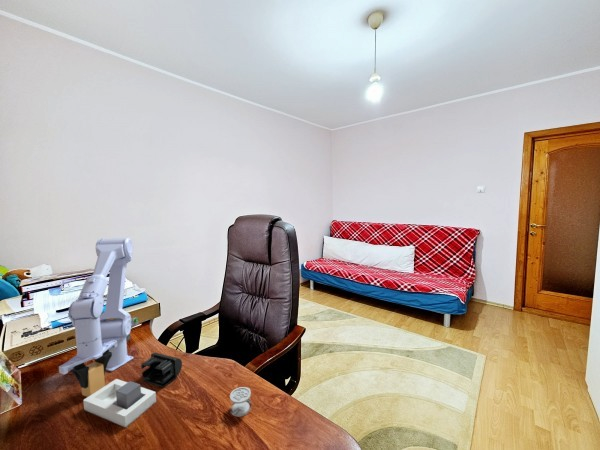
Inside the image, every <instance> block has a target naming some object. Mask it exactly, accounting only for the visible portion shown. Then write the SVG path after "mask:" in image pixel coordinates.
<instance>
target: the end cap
mask: <svg viewBox="0 0 600 450" xmlns="http://www.w3.org/2000/svg"><path fill="white" fill-rule="evenodd" d="M182 361H183V360H182V359H181V358H179V357H175V356H171V355H166V354H163V353H159V352H153V353H150V357H149V358H148V359H147V360H145V361H144V362H142V363H141V365H140V366H141V370H143V369H144V368H146V367H147V368H146V369H145V370H143V371H142V372H141V377H142V378H143V379H142V381H143V382H144V383H147V384H150V385H153V386H157V387H160V388H167V387H168V385H170V384H171V383H172V382H173V381H174V380H175V379H176V378H178V376H179V374H180V372H181V371H182V367H183V362H182Z"/></svg>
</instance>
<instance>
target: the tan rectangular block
mask: <svg viewBox="0 0 600 450" xmlns="http://www.w3.org/2000/svg"><path fill="white" fill-rule="evenodd" d="M86 366H87V367H89V370H88V387H87V388H82V387H81V386H80V387H81V388H80V389H81V395H82V396H84V397H86V398H87V397H89V396H90V395H92V394H94V393H95V392H97V391H98V390H100V389H101V388H103V387H104V386H106V381H105V376H104V367H103V364H101V363H98V362H95V360H94V361H93V362H91V363H88V364H87V365H86Z"/></svg>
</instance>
